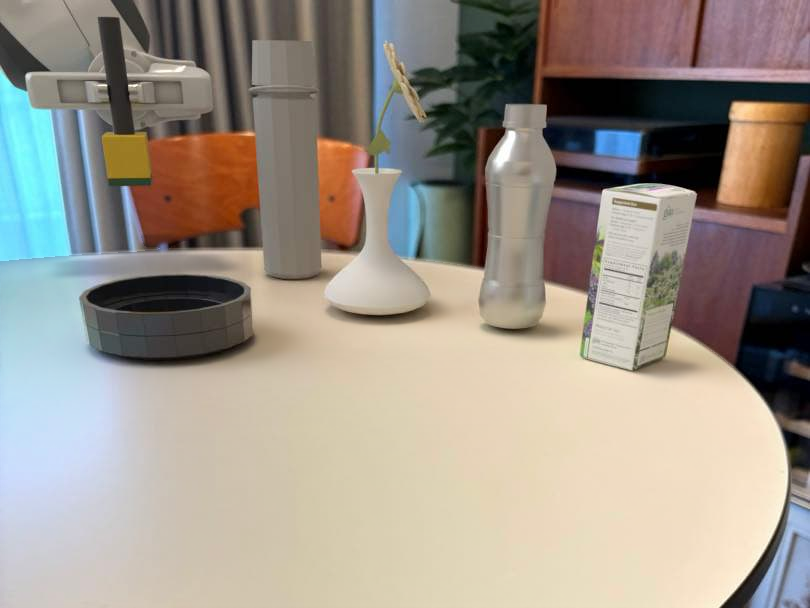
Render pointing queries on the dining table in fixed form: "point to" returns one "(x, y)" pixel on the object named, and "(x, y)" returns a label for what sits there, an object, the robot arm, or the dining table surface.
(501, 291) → the plastic bottle
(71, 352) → the dining table surface
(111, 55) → the sponge wand
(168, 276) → the bowl
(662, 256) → the syrup box
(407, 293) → the flower in vase
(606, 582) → the dining table surface
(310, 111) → the water bottle
